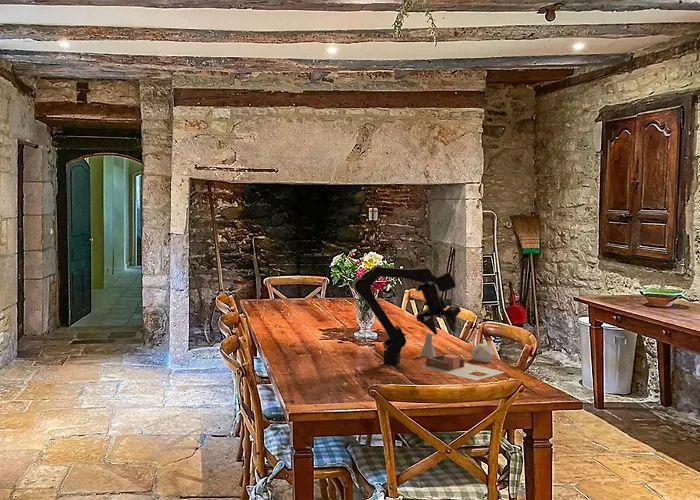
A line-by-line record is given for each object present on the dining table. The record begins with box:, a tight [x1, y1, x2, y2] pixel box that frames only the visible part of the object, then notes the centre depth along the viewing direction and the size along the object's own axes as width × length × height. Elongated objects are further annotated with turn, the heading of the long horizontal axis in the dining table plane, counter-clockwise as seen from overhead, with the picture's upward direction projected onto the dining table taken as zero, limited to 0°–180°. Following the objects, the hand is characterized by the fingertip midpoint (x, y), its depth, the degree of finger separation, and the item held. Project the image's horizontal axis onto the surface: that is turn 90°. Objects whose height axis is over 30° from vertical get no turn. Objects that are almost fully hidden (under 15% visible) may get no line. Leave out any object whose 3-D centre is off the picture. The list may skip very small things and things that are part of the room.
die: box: [470, 343, 495, 363], centre depth 285 cm, size 8×9×10 cm
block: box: [443, 354, 461, 370], centre depth 271 cm, size 4×4×4 cm
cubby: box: [425, 353, 466, 371], centre depth 273 cm, size 10×11×3 cm
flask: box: [419, 333, 437, 358], centre depth 292 cm, size 7×7×10 cm
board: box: [421, 362, 505, 382], centre depth 269 cm, size 19×26×1 cm
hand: (445, 333), depth 278 cm, fingers open, 9 cm apart
